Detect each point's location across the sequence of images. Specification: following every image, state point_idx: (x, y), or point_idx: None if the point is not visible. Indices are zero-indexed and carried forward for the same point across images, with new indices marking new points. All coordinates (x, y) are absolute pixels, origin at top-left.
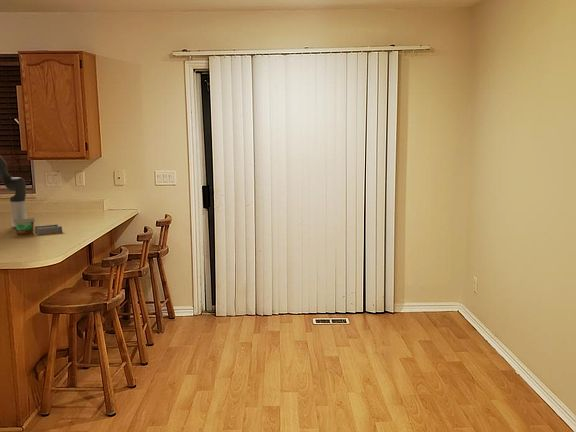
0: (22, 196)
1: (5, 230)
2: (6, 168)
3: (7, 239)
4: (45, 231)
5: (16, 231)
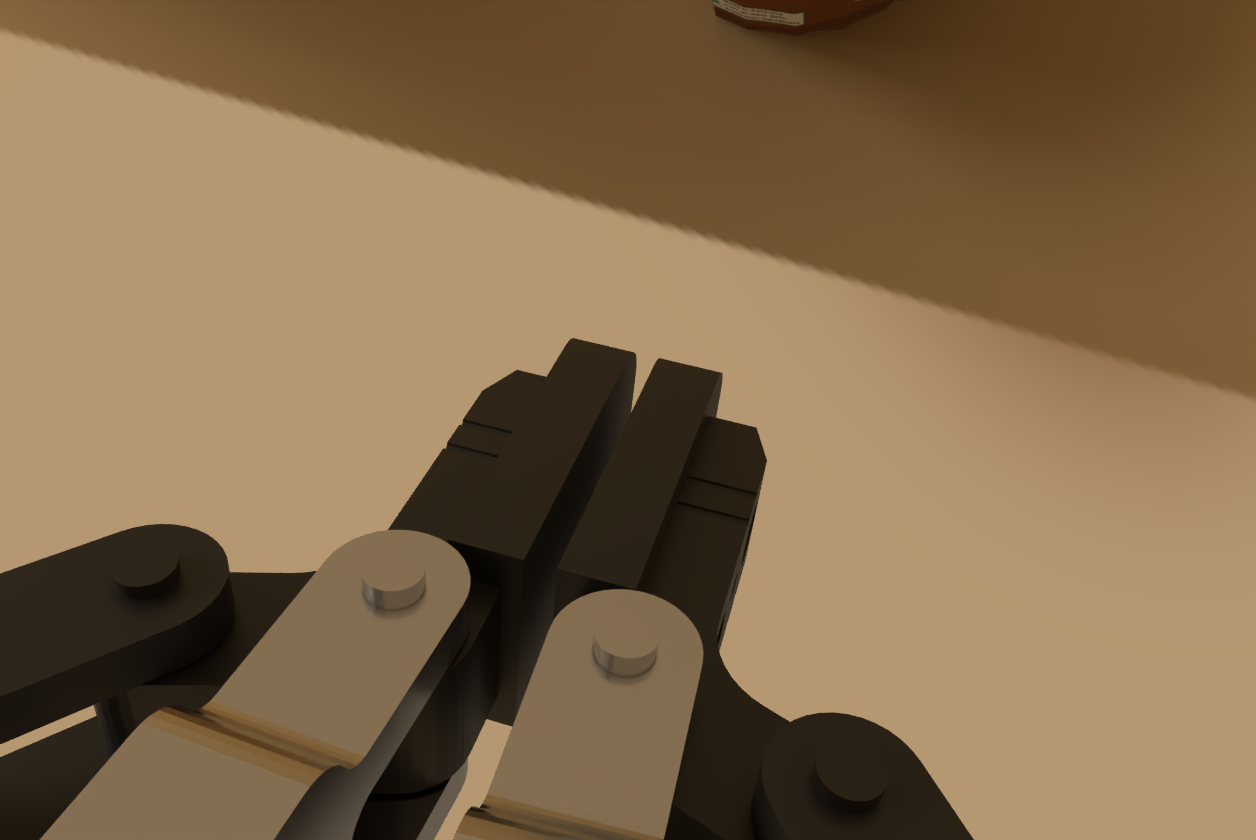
0: None
1: (112, 46)
2: None
3: (1236, 337)
4: None
5: (752, 4)
